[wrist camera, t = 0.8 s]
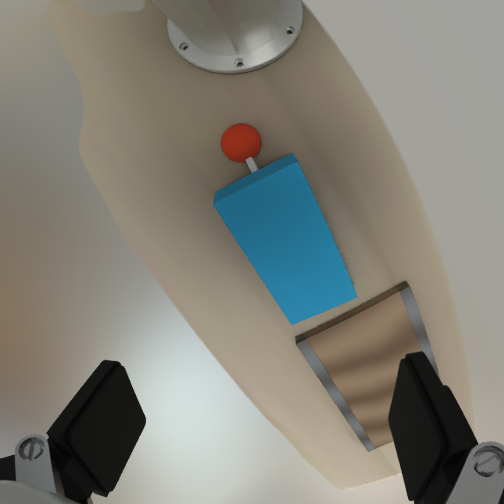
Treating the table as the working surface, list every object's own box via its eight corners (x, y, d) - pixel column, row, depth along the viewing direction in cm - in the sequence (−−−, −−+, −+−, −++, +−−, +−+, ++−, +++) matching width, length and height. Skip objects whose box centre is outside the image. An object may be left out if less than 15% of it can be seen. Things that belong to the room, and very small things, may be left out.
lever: (339, 256, 34) (266, 105, 25) (357, 297, 28) (274, 115, 19) (283, 280, 36) (198, 141, 27) (291, 324, 30) (186, 162, 21)
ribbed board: (295, 337, 32) (295, 344, 31) (405, 280, 29) (409, 286, 28) (366, 445, 38) (368, 451, 36) (445, 408, 34) (448, 414, 33)
